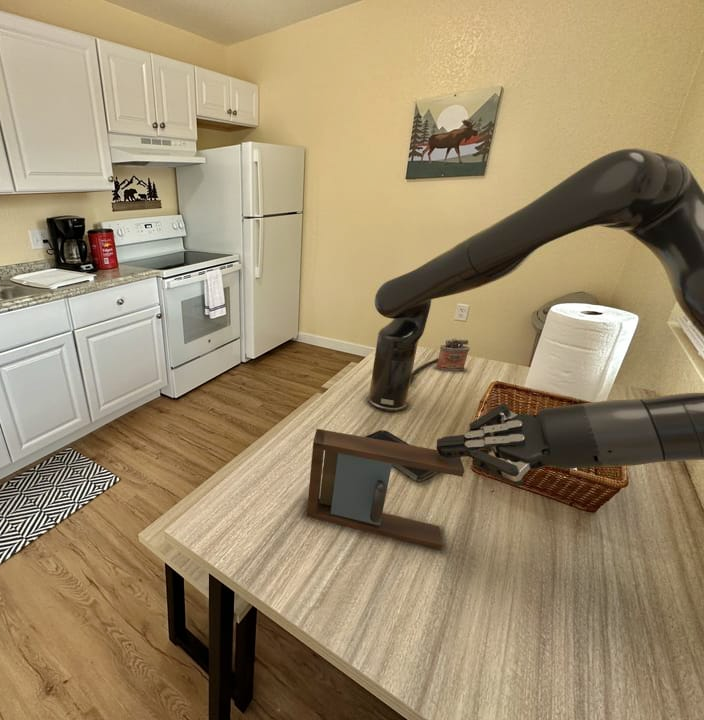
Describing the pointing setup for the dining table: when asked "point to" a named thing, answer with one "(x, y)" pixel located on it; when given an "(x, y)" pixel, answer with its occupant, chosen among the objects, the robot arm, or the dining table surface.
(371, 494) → the closet door
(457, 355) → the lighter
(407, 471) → the phone
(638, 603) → the dining table surface
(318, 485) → the frame
